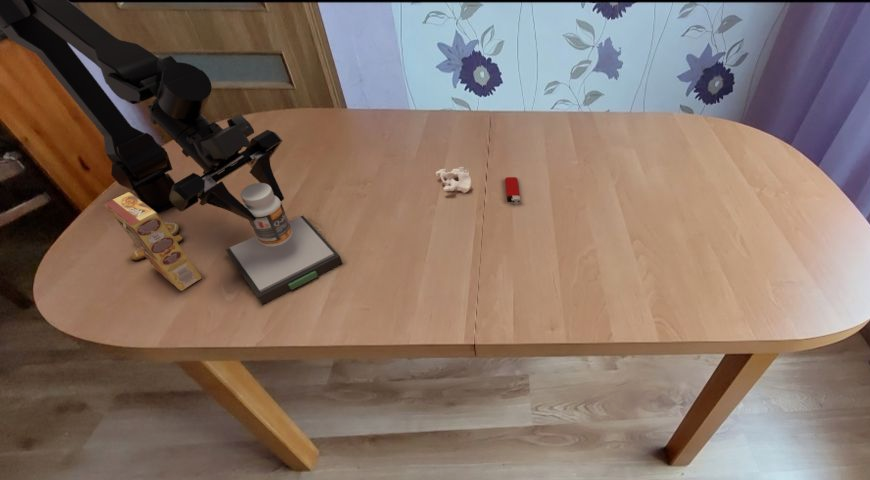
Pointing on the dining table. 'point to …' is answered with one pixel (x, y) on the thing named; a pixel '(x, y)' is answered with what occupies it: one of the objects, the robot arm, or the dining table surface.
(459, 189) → the hip bone replica
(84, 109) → the robot arm
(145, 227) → the candy box
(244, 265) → the kitchen scale
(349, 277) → the dining table surface
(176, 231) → the cookie
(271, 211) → the pill bottle
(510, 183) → the lighter
